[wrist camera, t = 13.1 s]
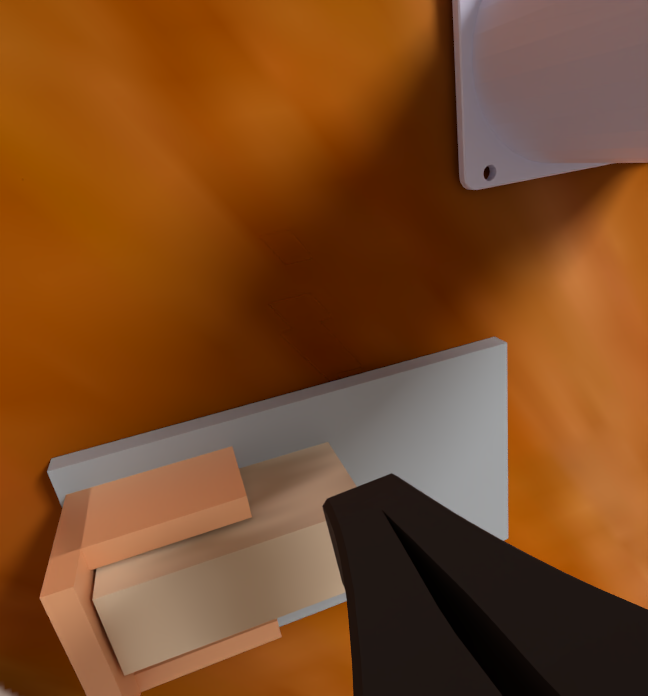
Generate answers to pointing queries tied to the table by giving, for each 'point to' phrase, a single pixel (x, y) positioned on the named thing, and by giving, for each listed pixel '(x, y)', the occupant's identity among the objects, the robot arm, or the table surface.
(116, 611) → the beige rectangular block
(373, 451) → the board
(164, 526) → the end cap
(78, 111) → the table surface
